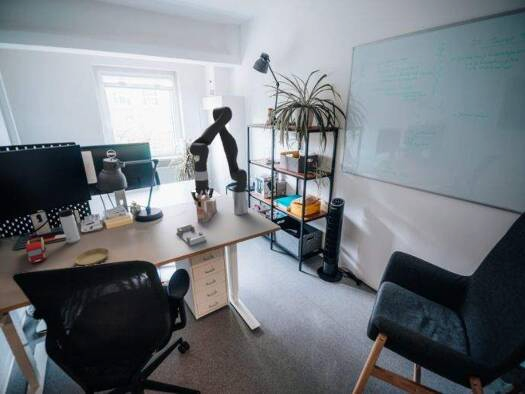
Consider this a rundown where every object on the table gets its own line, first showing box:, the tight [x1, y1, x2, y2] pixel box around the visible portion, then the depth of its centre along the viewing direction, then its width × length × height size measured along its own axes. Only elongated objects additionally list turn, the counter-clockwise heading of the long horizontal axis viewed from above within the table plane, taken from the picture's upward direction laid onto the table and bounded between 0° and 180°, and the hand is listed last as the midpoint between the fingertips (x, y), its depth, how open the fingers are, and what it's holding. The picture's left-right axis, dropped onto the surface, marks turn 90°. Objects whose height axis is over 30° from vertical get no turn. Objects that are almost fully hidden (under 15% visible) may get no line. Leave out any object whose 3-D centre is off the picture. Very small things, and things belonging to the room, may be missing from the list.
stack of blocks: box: [195, 198, 218, 223], centre depth 176 cm, size 21×6×12 cm, turn 171°
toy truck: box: [25, 236, 47, 264], centre depth 129 cm, size 7×21×10 cm, turn 41°
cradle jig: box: [176, 223, 208, 248], centre depth 147 cm, size 10×20×4 cm, turn 39°
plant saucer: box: [74, 247, 110, 266], centre depth 126 cm, size 15×15×3 cm
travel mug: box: [57, 208, 81, 244], centre depth 141 cm, size 6×7×20 cm
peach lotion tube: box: [193, 194, 214, 212], centre depth 147 cm, size 5×16×6 cm, turn 39°
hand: (203, 205), depth 148 cm, fingers closed on peach lotion tube, 4 cm apart
